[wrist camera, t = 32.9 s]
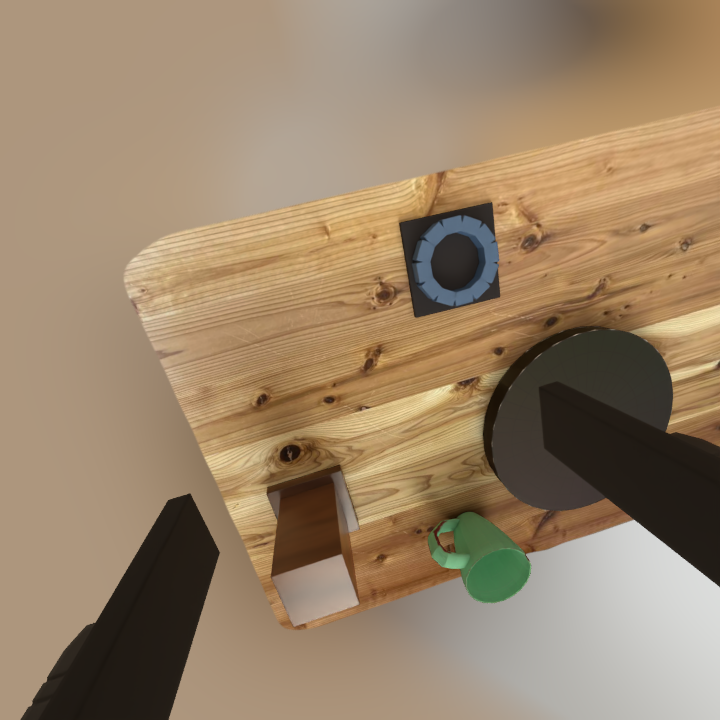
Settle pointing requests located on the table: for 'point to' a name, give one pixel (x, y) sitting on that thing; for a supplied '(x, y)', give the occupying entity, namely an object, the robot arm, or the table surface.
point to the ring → (485, 254)
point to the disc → (585, 374)
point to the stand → (314, 545)
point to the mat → (447, 258)
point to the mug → (482, 557)
